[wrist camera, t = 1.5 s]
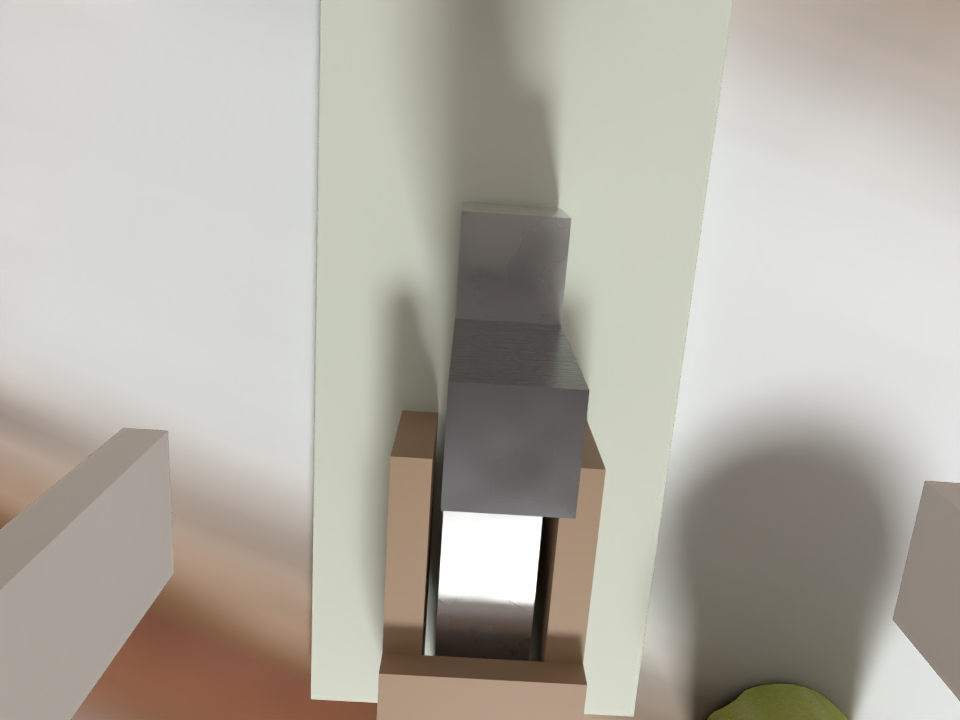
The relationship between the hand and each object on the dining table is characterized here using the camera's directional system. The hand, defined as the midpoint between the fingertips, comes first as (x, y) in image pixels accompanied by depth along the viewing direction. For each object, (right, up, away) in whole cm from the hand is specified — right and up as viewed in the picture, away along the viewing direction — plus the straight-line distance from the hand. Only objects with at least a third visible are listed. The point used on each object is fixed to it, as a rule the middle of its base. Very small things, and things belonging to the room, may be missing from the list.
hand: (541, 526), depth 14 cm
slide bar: (-1, 0, +13) cm, 13 cm away
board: (0, +5, +13) cm, 14 cm away
